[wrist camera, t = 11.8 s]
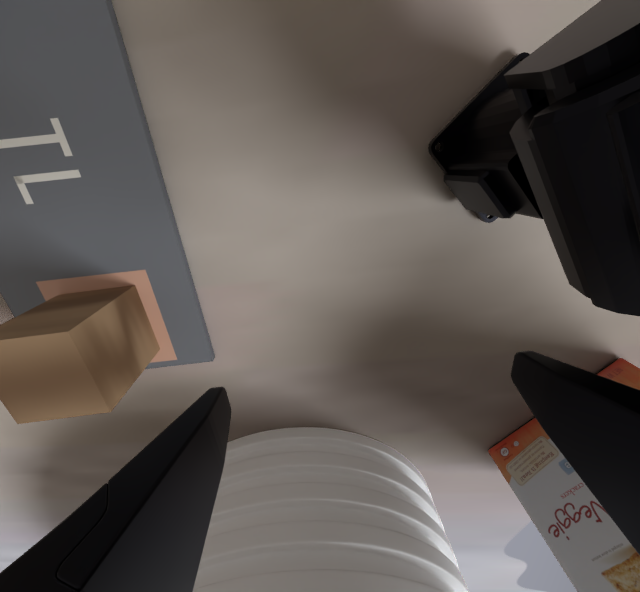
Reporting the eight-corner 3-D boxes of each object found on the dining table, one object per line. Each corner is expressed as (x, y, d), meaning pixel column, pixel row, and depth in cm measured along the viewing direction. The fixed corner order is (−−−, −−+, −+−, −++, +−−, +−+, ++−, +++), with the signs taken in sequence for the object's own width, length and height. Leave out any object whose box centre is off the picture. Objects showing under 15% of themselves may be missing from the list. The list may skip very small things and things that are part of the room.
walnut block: (58, 294, 19) (-39, 345, 14) (135, 284, 19) (68, 331, 14) (91, 357, 21) (17, 423, 16) (160, 348, 21) (110, 412, 16)
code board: (-279, -220, 11) (-310, -241, 11) (38, -250, 11) (24, -272, 11) (57, 374, 22) (50, 379, 22) (214, 356, 22) (212, 361, 22)
